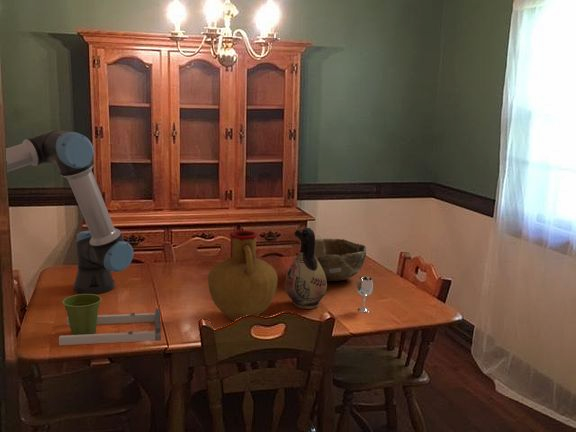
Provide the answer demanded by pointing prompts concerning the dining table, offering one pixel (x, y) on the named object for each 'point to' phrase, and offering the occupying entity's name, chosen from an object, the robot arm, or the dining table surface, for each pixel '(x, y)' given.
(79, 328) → the plant pot
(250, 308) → the vase
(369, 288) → the wineglass
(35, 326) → the dining table surface
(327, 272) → the bowl
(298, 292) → the ceramic jug
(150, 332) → the guide channel
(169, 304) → the dining table surface
